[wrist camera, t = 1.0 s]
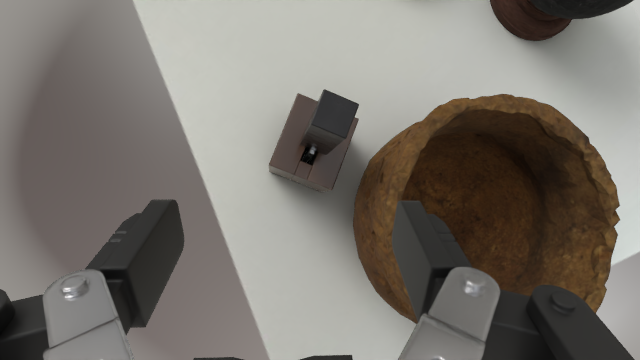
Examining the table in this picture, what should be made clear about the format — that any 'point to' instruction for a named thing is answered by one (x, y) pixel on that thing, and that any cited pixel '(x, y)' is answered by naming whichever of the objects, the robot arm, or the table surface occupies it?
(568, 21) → the black ball on stand
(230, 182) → the table surface
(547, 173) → the bowl
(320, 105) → the knife
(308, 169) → the knife block
